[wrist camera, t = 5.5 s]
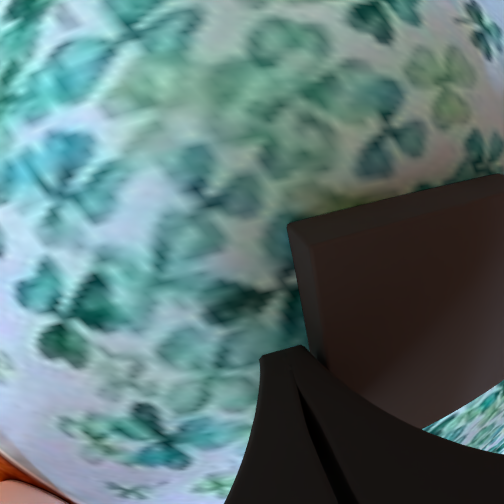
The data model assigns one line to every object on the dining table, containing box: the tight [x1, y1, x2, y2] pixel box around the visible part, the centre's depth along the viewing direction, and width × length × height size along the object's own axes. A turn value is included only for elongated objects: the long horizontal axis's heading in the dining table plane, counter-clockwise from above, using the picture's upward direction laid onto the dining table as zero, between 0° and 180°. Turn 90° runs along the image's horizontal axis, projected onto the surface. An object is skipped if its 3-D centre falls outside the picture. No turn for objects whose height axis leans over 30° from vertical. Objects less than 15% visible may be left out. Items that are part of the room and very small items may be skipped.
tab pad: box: [287, 174, 504, 429], centre depth 9 cm, size 8×10×2 cm
